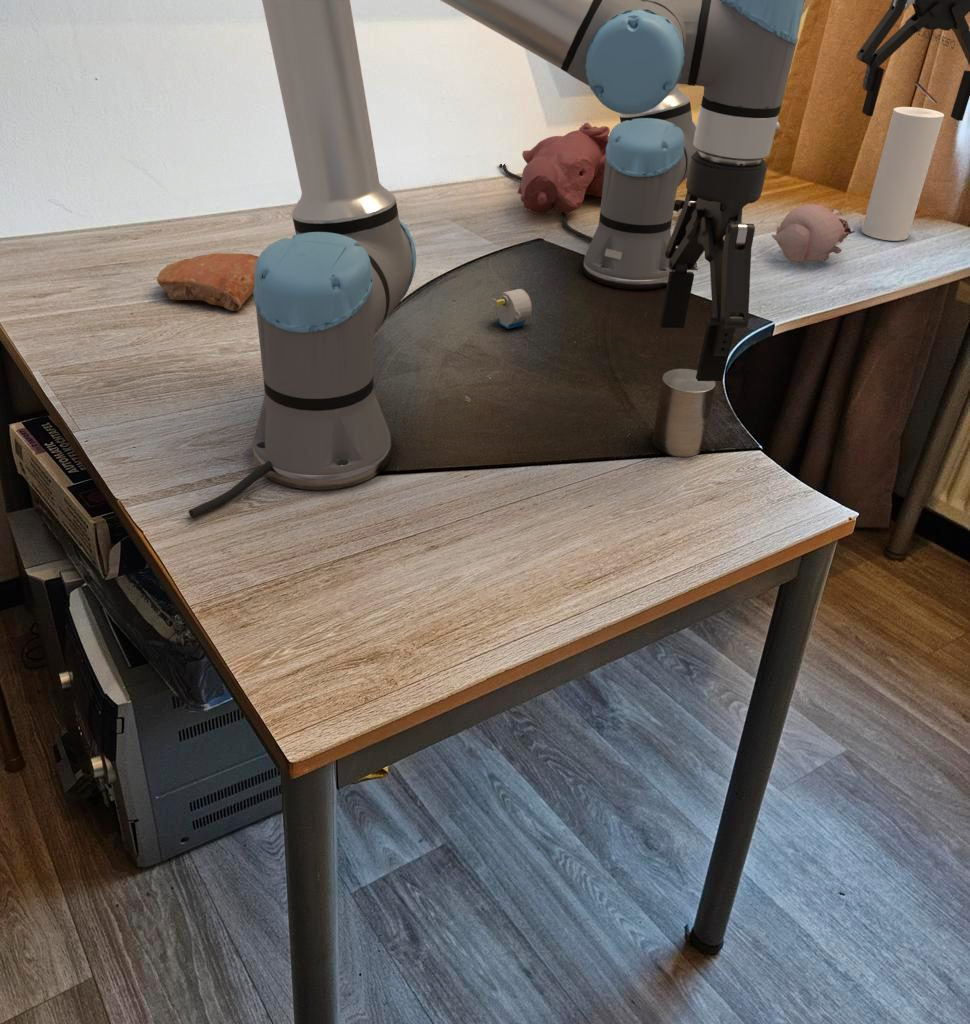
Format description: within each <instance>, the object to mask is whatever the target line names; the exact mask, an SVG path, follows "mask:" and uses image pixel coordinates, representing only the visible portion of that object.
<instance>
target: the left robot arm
mask: <svg viewBox="0 0 970 1024" xmlns="http://www.w3.org/2000/svg"><path fill="white" fill-rule="evenodd" d="M440 2H442V3H445V4H446V5H448V6H449V7H451V8H453V9H454V10H456V11H458V12H460V13H462V14H463V15H465V16H467V17H469V18H471V19H472V20H474V21H476V22H477V23H479V24H481V25H483V26H484V27H486V28H489V29H490V30H492V31H494V32H495V33H496V34H499V35H501V36H502V37H504V38H506V39H507V40H509V41H511V42H512V43H515V44H516V45H518V46H520V47H521V48H524V49H525V50H527V51H529V52H530V53H532V54H534V55H536V56H537V57H539V58H541V59H543V60H545V61H546V62H548V63H550V64H551V65H553V66H555V67H557V68H558V69H560V70H562V71H563V72H565V73H567V74H568V75H569V76H571V77H572V78H574V79H575V80H578V81H579V82H581V83H583V84H585V85H587V86H588V87H589V88H590V90H591V91H592V94H594V96H595V97H596V98H597V100H598V101H599V102H600V103H601V104H602V105H603V106H604V107H605V108H607V109H609V110H611V111H613V112H615V113H618V114H620V113H622V114H639V113H643V112H646V111H648V110H650V109H652V108H654V107H656V106H657V105H659V104H660V103H661V102H662V101H663V100H664V99H665V98H666V97H667V96H668V94H669V93H670V92H671V91H672V90H673V89H674V88H675V86H676V84H679V85H687V86H690V87H691V86H692V87H697V86H699V87H703V95H702V100H701V103H700V105H699V110H698V114H697V115H698V116H697V121H696V124H695V126H696V131H695V136H694V141H693V145H694V147H695V148H696V149H697V150H698V151H696V152H695V153H694V154H693V155H692V156H691V161H690V166H689V172H688V177H687V178H686V183H685V187H686V194H685V198H684V201H685V202H684V205H683V208H682V209H680V210H681V211H680V213H679V216H678V218H677V221H676V222H675V226H674V228H673V231H672V233H671V238H670V241H669V243H668V246H667V248H666V251H665V257H666V258H667V259H670V260H669V269H670V270H672V271H671V272H670V273H669V278H668V284H667V285H666V290H665V294H664V300H663V306H662V311H661V316H660V320H659V321H660V323H659V326H660V328H661V329H684V328H685V324H686V320H687V319H686V318H687V314H688V308H689V304H690V299H691V294H692V289H693V284H694V279H695V273H694V272H693V271H698V263H697V262H698V260H699V259H700V258H701V256H702V255H703V253H704V259H705V260H706V261H707V262H708V263H709V272H710V273H709V274H710V292H711V293H710V295H711V312H712V317H709V318H708V319H707V320H705V324H706V328H705V333H704V338H703V343H702V347H701V352H700V357H699V362H698V366H697V370H696V371H697V374H696V379H697V380H698V381H715V382H723V381H724V377H725V376H724V375H725V372H726V368H727V363H728V359H729V356H730V351H731V347H732V342H733V337H734V334H735V329H736V328H747V327H748V324H749V312H750V292H751V291H750V289H751V267H752V248H753V243H754V236H755V230H756V226H755V224H754V223H743V209H744V208H745V206H747V205H749V204H753V203H755V202H757V201H759V200H760V198H761V195H762V193H763V188H764V184H765V179H766V175H767V171H768V164H767V162H766V160H765V159H766V158H768V157H769V156H770V155H771V151H772V147H773V142H774V138H775V134H776V132H778V131H779V130H780V127H781V124H780V122H779V116H780V113H781V108H782V104H783V101H784V96H785V92H786V88H787V84H788V81H789V76H790V72H791V67H792V65H793V61H794V57H795V53H796V52H795V51H796V47H797V44H798V41H799V38H798V36H799V31H800V26H801V20H802V15H803V10H804V5H805V0H440ZM261 3H262V9H263V13H264V17H265V22H266V25H267V31H268V36H269V41H270V46H271V50H272V56H273V61H274V65H275V70H276V75H277V80H278V85H279V89H280V94H281V95H280V96H281V100H282V104H283V109H284V114H285V118H286V124H287V128H288V134H289V139H290V143H291V147H292V153H293V158H294V163H295V167H296V172H297V176H298V181H299V186H300V187H299V188H300V191H301V195H300V198H299V200H298V201H297V203H296V204H295V205H294V207H293V209H292V211H291V218H292V222H293V226H294V227H293V228H294V232H295V234H293V235H292V238H288V237H283V238H280V239H278V240H276V241H274V242H273V243H270V244H269V245H268V246H267V247H266V248H265V249H264V250H262V252H261V253H260V255H258V257H259V258H258V259H257V262H256V265H255V271H254V276H255V282H254V290H253V293H252V294H253V301H254V305H255V310H256V311H255V312H256V320H257V331H258V340H259V349H260V359H261V369H262V378H263V388H264V390H263V391H264V396H263V400H262V404H261V408H260V412H259V415H258V419H257V423H256V427H255V430H254V434H253V438H252V442H251V443H252V455H253V460H254V464H255V467H256V469H255V470H254V471H252V472H251V473H249V474H248V475H246V476H245V477H244V478H242V480H240V481H239V482H237V484H235V485H234V486H233V487H231V488H230V489H229V490H227V491H225V492H224V493H222V494H221V495H219V496H217V497H215V498H212V499H211V500H209V501H206V502H203V503H202V504H199V505H197V506H194V507H193V508H191V509H188V514H189V516H190V518H191V519H193V520H194V519H196V518H199V517H200V516H203V515H204V514H207V513H208V512H211V511H213V510H216V509H217V508H219V507H221V506H224V505H226V504H227V503H229V502H230V501H233V500H234V499H235V498H237V497H238V496H239V495H241V494H242V493H243V492H245V491H246V490H247V489H248V488H250V487H251V486H252V485H253V484H254V483H256V482H257V481H258V480H260V479H261V478H262V477H264V476H265V477H266V478H268V479H269V480H271V481H273V482H275V483H278V484H280V485H283V486H286V487H290V488H295V489H301V490H312V491H314V490H315V491H323V490H327V491H328V490H337V489H342V488H348V487H351V486H355V485H358V484H361V483H363V482H366V481H368V480H370V479H373V478H374V477H375V476H377V475H378V474H380V473H381V472H382V471H383V470H384V469H385V468H386V467H387V466H388V464H389V463H390V461H391V458H392V434H391V431H390V430H389V427H388V424H387V422H386V419H385V417H384V413H383V411H382V408H381V406H380V403H379V400H378V398H377V395H376V393H375V385H374V336H375V334H376V333H377V332H378V330H379V329H380V328H381V326H382V325H383V324H384V322H385V321H386V320H387V319H388V317H389V316H390V315H391V313H392V312H393V311H394V309H395V308H396V307H397V306H399V304H400V303H401V301H402V300H403V299H404V298H405V297H406V295H407V293H408V291H409V289H410V287H411V285H412V282H413V278H414V275H415V272H416V266H417V251H416V245H415V242H414V239H413V237H412V234H411V232H410V230H409V228H408V227H407V225H406V224H405V223H404V222H403V221H401V220H400V216H399V210H398V204H397V199H396V196H395V194H394V193H392V192H391V191H390V190H388V188H386V187H384V186H383V185H382V184H381V182H380V178H379V170H378V166H377V160H376V152H375V147H374V141H373V134H372V127H371V121H370V116H369V109H368V103H367V97H366V91H365V86H364V78H363V73H362V66H361V61H360V60H361V59H360V53H359V48H358V42H357V35H356V29H355V24H354V18H353V17H354V16H353V10H352V5H351V0H261Z"/></svg>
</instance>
